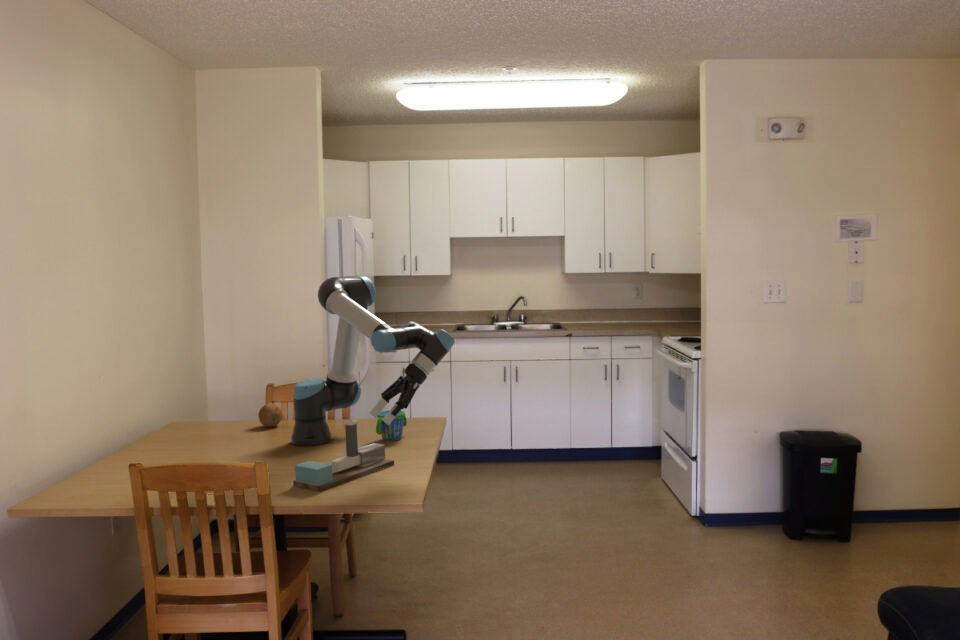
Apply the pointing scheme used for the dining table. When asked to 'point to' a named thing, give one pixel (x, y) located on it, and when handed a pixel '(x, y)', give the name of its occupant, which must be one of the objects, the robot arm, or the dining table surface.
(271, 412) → the brown ball
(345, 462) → the tube
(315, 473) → the socket
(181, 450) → the dining table surface
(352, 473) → the long brown base plank
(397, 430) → the snack cup
